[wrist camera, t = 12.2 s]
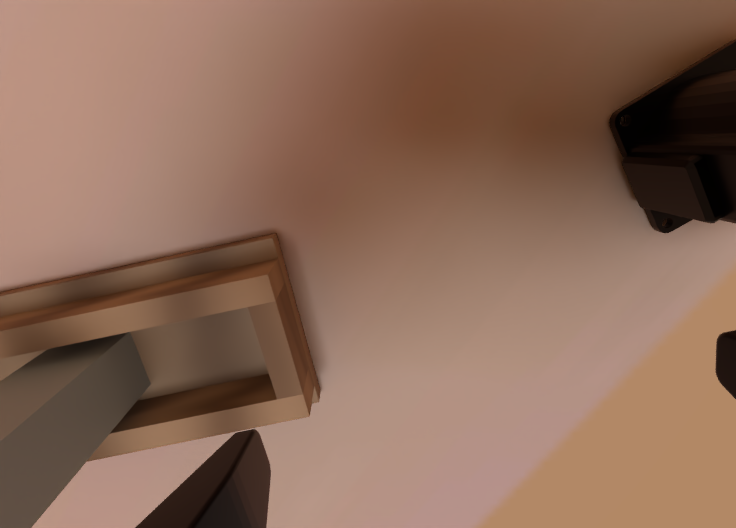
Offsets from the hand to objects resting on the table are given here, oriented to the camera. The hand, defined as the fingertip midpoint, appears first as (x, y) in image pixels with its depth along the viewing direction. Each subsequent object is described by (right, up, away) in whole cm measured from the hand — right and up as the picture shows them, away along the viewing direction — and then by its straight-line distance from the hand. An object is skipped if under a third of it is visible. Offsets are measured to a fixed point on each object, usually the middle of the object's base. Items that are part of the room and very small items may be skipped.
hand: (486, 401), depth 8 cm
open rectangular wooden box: (-16, -2, +14) cm, 21 cm away
